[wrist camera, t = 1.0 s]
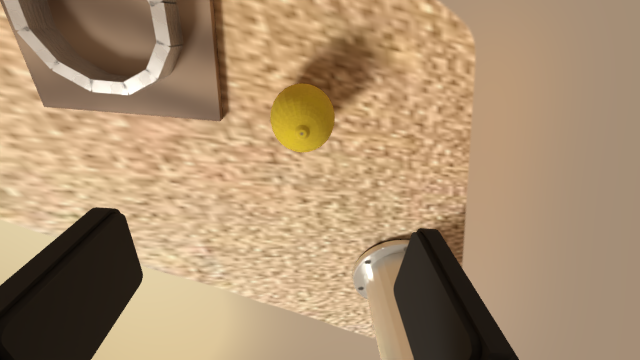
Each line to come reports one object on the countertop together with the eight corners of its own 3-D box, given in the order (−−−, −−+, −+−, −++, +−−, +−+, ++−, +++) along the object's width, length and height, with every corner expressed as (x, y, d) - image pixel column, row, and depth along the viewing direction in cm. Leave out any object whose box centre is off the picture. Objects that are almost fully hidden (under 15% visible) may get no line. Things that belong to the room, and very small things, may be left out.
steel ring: (190, 92, 25) (179, 99, 23) (62, 81, 24) (38, 87, 22) (168, -63, 20) (151, -73, 17) (2, -85, 19) (-38, -99, 17)
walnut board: (223, 118, 27) (220, 121, 27) (52, 103, 26) (44, 106, 25) (204, -100, 19) (200, -106, 19) (-43, -137, 18) (-60, -144, 17)
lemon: (332, 76, 26) (340, 96, 19) (330, 131, 29) (336, 167, 22) (273, 75, 26) (260, 96, 19) (277, 131, 28) (267, 167, 22)
